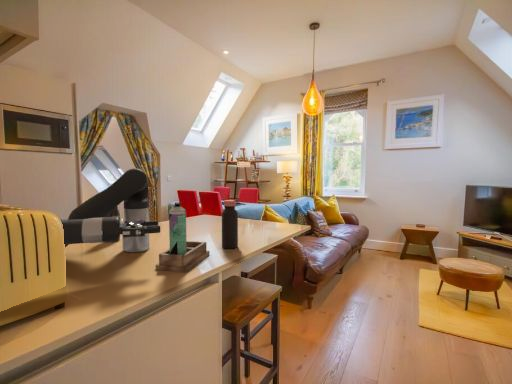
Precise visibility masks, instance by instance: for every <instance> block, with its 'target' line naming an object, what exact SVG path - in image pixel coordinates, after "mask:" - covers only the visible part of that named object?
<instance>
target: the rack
mask: <svg viewBox="0 0 512 384" xmlns="http://www.w3.org/2000/svg"><path fill="white" fill-rule="evenodd" d="M186 247H187V253H185V254H184V255H176V254H170V248H168V249H166V250H164V251H162V252H160V253H158V263H157V264H155V270H157V271H166V272H167V271H168V272H180V273H188V272H189V271H190V270H192V269H193V268H194V267H195V266H197V265H198V264H199V263H200V262H202V261H203V260H205V259H206V258H207V257H208V256H210V250H207V241H194V240H186Z"/></svg>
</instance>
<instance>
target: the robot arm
mask: <svg viewBox="0 0 512 384" xmlns="http://www.w3.org/2000/svg"><path fill="white" fill-rule="evenodd" d="M149 195H150V194H149V177H148V175H147V173H146V172H145V171H144V170H143V169H140V168H129V169H128V170H126V171H125V172H124V173H123V174H122V175H121V176H120V177H119V178H117V179H116V180H115V181H114V182H113V183H112V184H110V185H109V186H108V187H107V188H105V189H103V190H102V191H99V192H98V193H96V194H94V195H92V196H91V197H90V198H88V199H87V200H85V201H84V202H82V203H81V204H79V205H78V206H76V207H75V208H74V209H72V210H71V212H70V213H69V216H68V217H67V219H61V218H59V219H60V220H61V222H62V224H63V229H64V244H65V248H66V247H68V246H69V245H75V244H99V243H100V244H101V243H115V242H119V241H120V239H122V251H124V252H127V253H140V252H145V251H148V250H150V234H160V233H161V226H160V225H159V221H158V220H150V214H149V213H150V212H149V209H150V208H149V201H150V199H149ZM121 203H123V221H124V222H122V223H121V217H120V218H119V217H106V216H107V215H108V214H110V213H111V212H112V211H113V210H114V209H115V208H116V207H117V206H119V205H120V204H121ZM121 235H122V238H121Z"/></svg>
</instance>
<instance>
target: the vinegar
mask: <svg viewBox="0 0 512 384" xmlns="http://www.w3.org/2000/svg"><path fill="white" fill-rule="evenodd" d="M223 207H224V209H223V210H222V211H221V247H222V248H223V249H225V250H232V249H233V250H234V249H236V248H238V246H239V244H238V243H239V238H238V237H239V235H238V234H239V233H238V232H239V229H238V228H239V226H238V225H239V215H238V214H239V212H238V211H237V209H236V200H235V199H234V200H233V199H226V200H223Z"/></svg>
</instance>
